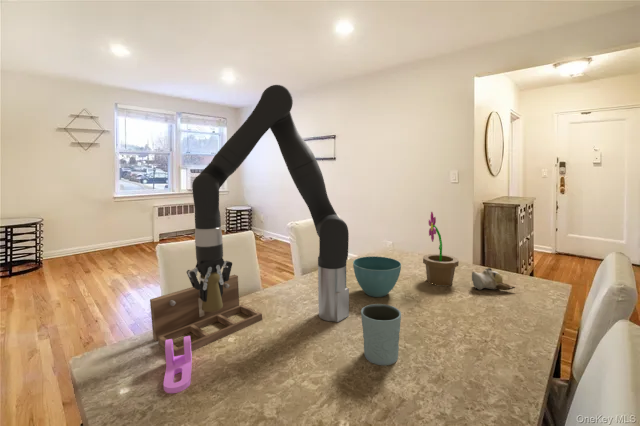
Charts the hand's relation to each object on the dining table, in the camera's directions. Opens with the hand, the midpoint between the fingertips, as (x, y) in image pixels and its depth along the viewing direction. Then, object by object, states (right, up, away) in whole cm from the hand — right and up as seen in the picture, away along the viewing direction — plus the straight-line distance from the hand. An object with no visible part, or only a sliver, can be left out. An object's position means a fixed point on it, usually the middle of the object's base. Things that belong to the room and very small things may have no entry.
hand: (212, 298), depth 96 cm
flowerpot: (+83, -4, +41) cm, 93 cm away
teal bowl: (+54, -6, +29) cm, 62 cm away
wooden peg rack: (-1, -10, +2) cm, 10 cm away
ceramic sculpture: (+100, -5, +33) cm, 106 cm away
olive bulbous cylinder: (0, -3, 0) cm, 3 cm away
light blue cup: (+48, -12, -12) cm, 51 cm away
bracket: (-1, -13, -20) cm, 24 cm away
